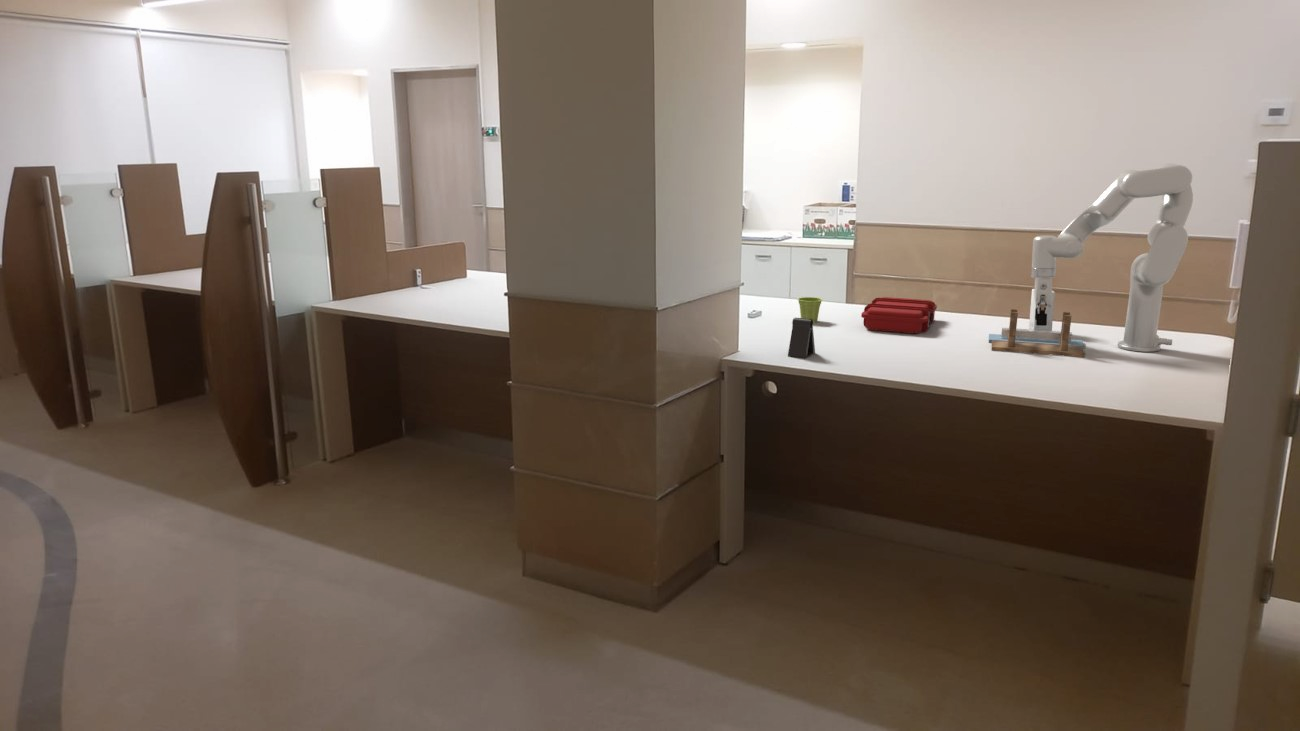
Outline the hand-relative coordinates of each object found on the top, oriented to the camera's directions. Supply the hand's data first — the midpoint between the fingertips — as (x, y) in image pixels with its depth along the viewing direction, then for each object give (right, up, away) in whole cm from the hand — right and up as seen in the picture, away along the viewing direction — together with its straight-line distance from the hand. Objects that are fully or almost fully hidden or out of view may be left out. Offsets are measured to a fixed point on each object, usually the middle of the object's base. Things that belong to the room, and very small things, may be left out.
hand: (1040, 322), depth 306 cm
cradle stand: (-5, -10, -9) cm, 14 cm away
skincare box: (+7, -3, +18) cm, 19 cm away
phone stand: (-84, -11, -13) cm, 86 cm away
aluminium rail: (-1, -6, +2) cm, 6 cm away
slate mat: (-1, -7, +2) cm, 7 cm away
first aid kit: (-39, 0, +32) cm, 51 cm away
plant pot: (-72, +2, +39) cm, 82 cm away
